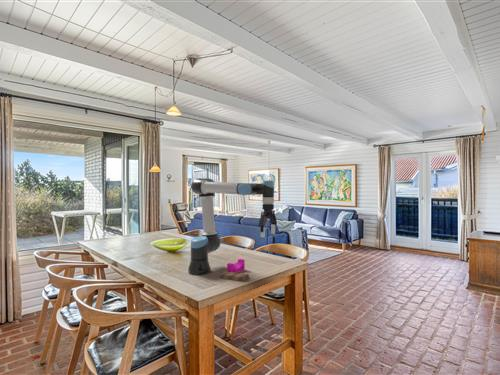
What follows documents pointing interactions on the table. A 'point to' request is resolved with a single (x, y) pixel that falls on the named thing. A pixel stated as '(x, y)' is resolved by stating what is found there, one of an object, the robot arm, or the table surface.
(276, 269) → the table surface
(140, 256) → the table surface
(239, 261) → the toy block
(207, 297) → the table surface
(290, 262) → the table surface
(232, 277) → the brown flat bar
